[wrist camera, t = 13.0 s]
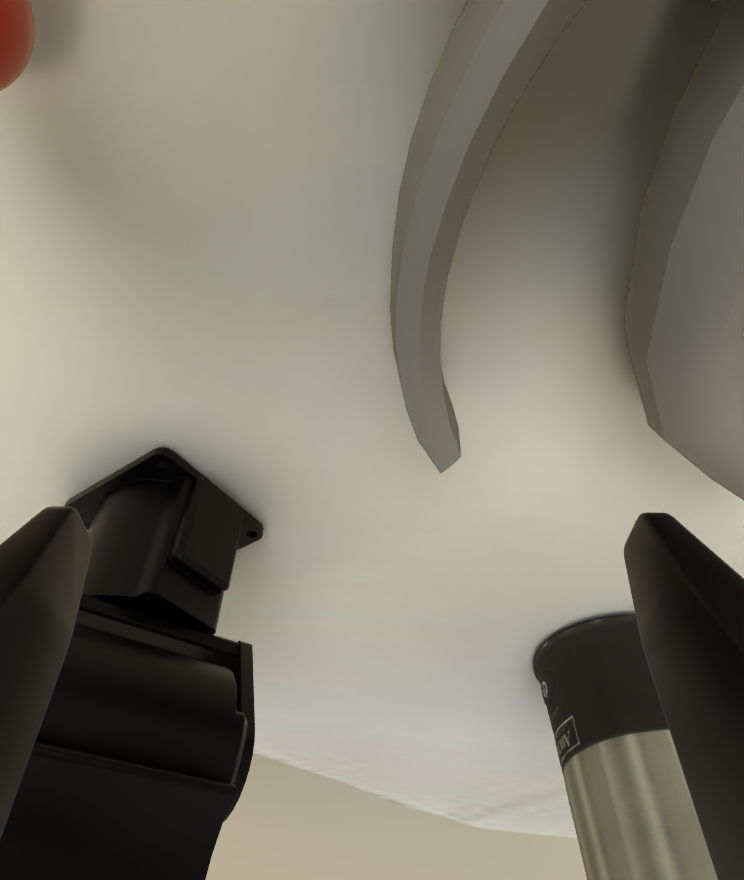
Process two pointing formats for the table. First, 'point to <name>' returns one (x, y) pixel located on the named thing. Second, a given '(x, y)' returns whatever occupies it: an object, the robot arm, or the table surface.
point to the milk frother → (619, 756)
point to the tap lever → (15, 39)
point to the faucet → (657, 244)
